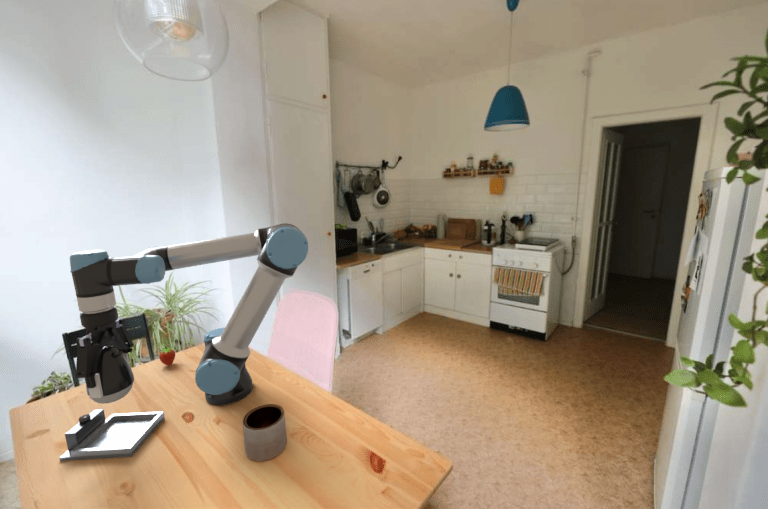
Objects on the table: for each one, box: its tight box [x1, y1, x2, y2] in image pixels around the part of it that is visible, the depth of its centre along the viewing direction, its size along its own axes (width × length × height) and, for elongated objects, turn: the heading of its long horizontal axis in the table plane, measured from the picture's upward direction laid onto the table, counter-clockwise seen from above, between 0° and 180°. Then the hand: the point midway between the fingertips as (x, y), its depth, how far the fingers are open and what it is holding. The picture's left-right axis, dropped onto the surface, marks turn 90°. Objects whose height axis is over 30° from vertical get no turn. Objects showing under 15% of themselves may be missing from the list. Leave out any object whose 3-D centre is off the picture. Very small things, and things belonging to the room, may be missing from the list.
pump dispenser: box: [85, 345, 135, 404], centre depth 91 cm, size 10×10×15 cm
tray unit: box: [59, 408, 165, 462], centre depth 94 cm, size 18×15×7 cm
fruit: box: [158, 346, 176, 367], centre depth 134 cm, size 5×5×8 cm
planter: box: [242, 403, 288, 462], centre depth 90 cm, size 11×11×10 cm
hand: (112, 385), depth 92 cm, fingers closed on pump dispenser, 10 cm apart
